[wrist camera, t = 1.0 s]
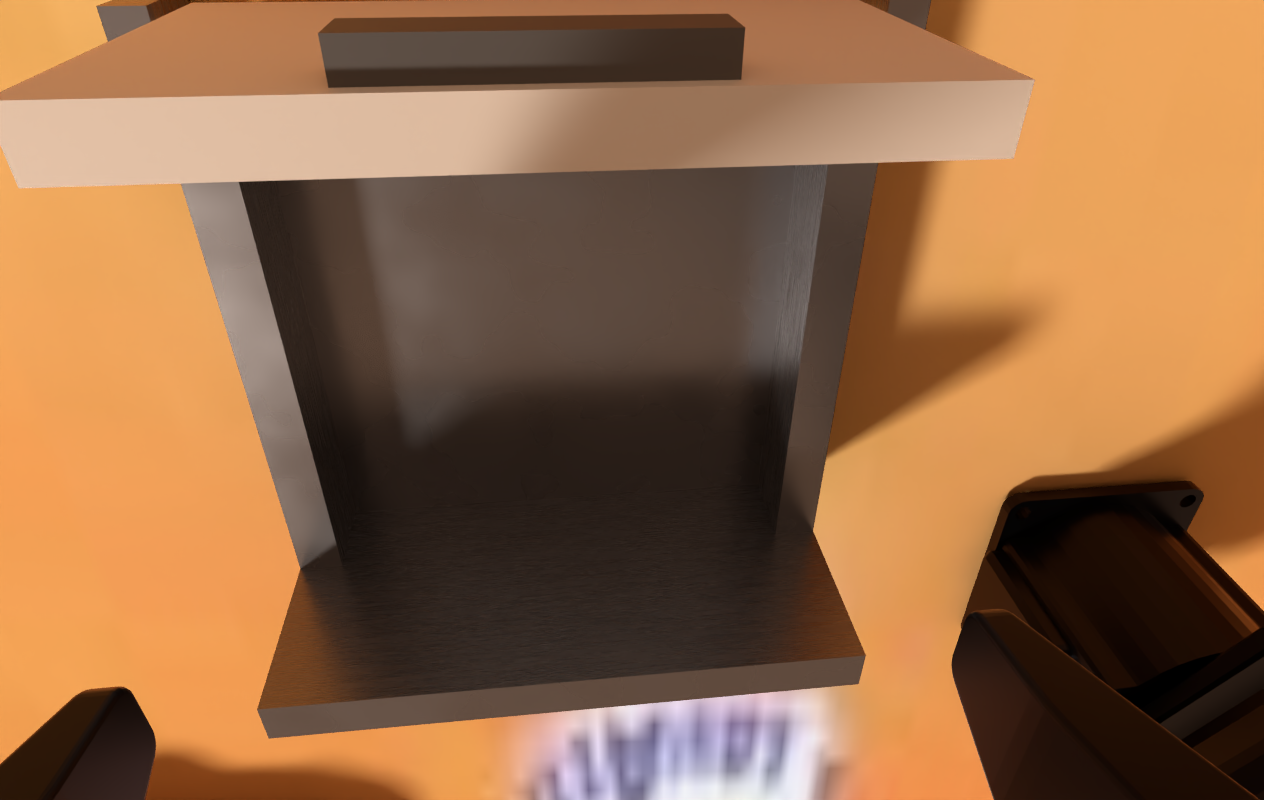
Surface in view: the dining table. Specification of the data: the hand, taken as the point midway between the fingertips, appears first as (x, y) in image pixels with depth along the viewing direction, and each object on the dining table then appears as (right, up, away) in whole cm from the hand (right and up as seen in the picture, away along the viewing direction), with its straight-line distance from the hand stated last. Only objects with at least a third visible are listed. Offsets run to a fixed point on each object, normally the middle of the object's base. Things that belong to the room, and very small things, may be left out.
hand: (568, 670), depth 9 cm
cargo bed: (-1, +5, +12) cm, 13 cm away
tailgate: (-1, +10, +7) cm, 12 cm away
